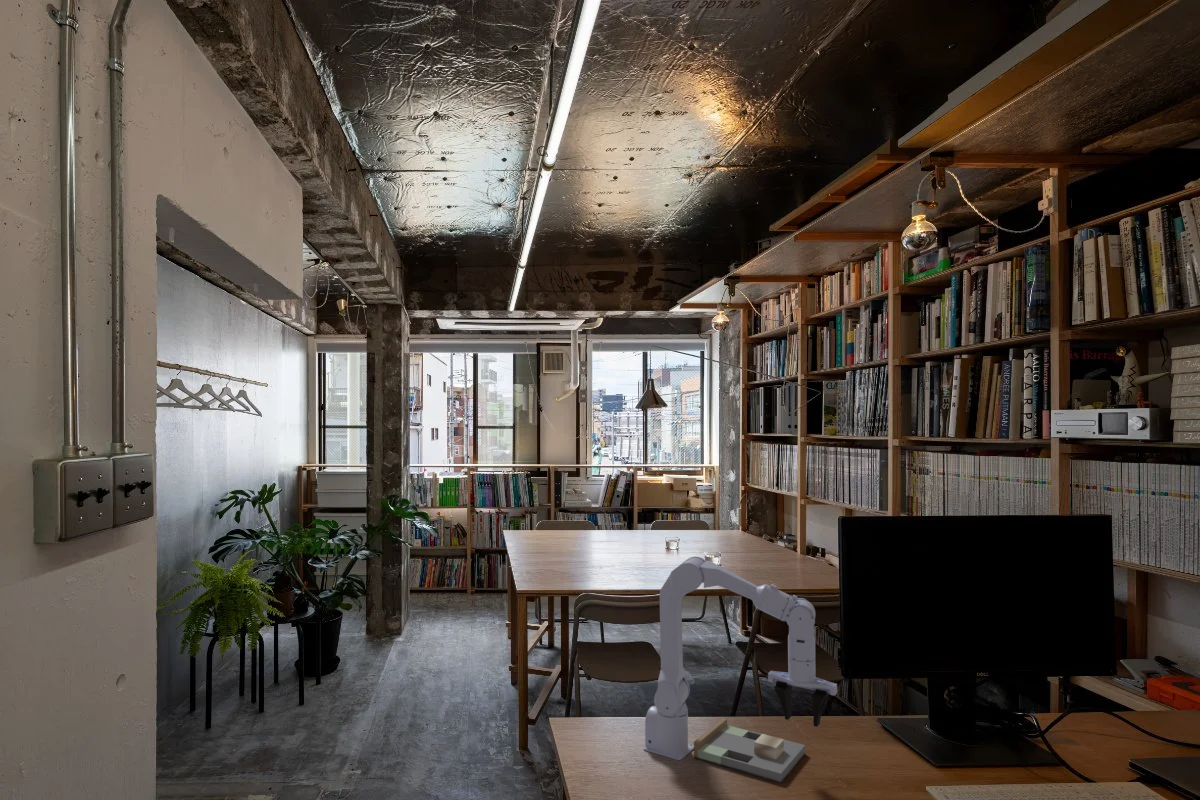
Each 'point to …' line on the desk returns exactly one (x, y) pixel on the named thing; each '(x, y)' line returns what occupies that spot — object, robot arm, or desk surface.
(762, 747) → the cream block
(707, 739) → the board
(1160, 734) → the desk surface
